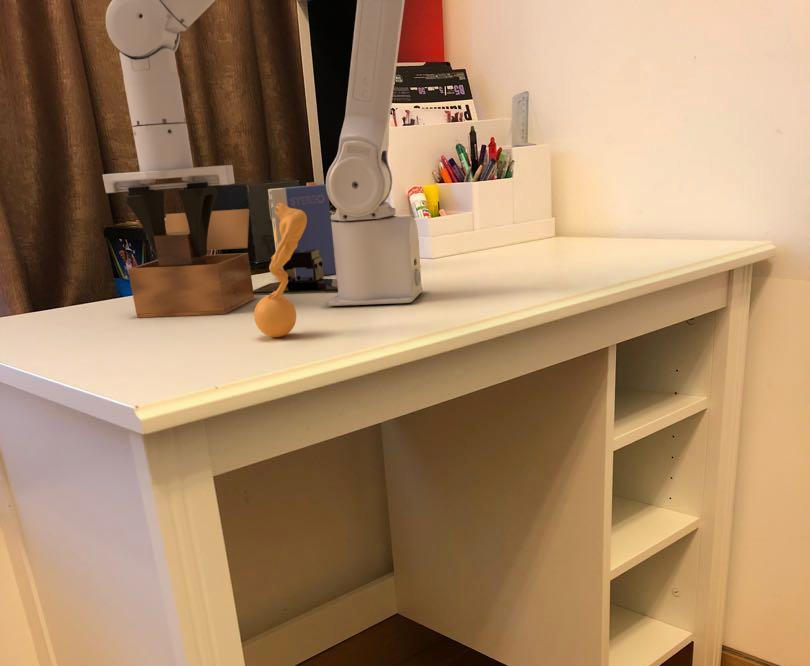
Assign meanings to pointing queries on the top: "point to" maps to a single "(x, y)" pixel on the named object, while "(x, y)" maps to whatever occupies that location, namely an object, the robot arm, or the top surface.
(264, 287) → the black angular piece
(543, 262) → the top surface
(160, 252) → the block
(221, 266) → the carton
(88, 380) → the top surface
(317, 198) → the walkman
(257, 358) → the top surface
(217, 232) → the flap
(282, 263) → the figurine
